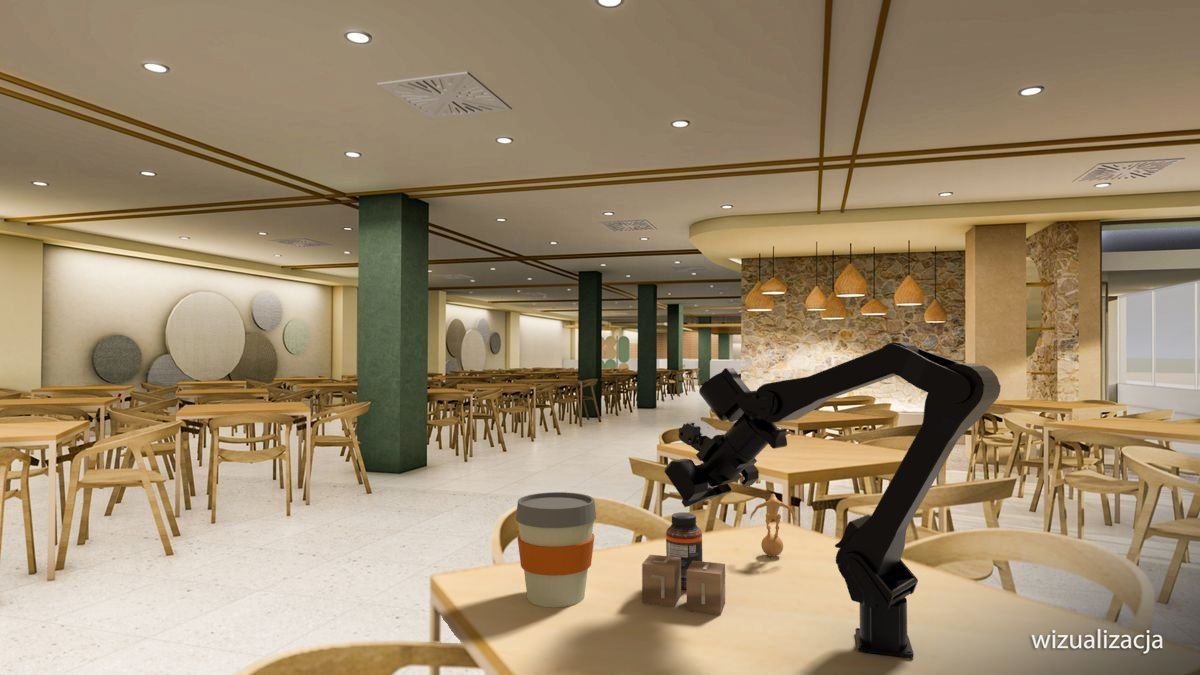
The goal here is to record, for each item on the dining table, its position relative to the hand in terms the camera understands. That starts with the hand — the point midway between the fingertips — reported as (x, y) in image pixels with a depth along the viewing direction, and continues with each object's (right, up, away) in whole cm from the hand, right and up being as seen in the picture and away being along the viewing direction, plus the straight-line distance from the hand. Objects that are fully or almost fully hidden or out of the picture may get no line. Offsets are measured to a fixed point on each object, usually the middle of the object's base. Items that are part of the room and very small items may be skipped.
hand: (684, 504), depth 110 cm
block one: (+2, -13, -10) cm, 17 cm away
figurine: (+18, -14, +14) cm, 26 cm away
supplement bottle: (0, -13, 0) cm, 13 cm away
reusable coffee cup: (-21, -13, -6) cm, 25 cm away
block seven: (-4, -13, -7) cm, 16 cm away
